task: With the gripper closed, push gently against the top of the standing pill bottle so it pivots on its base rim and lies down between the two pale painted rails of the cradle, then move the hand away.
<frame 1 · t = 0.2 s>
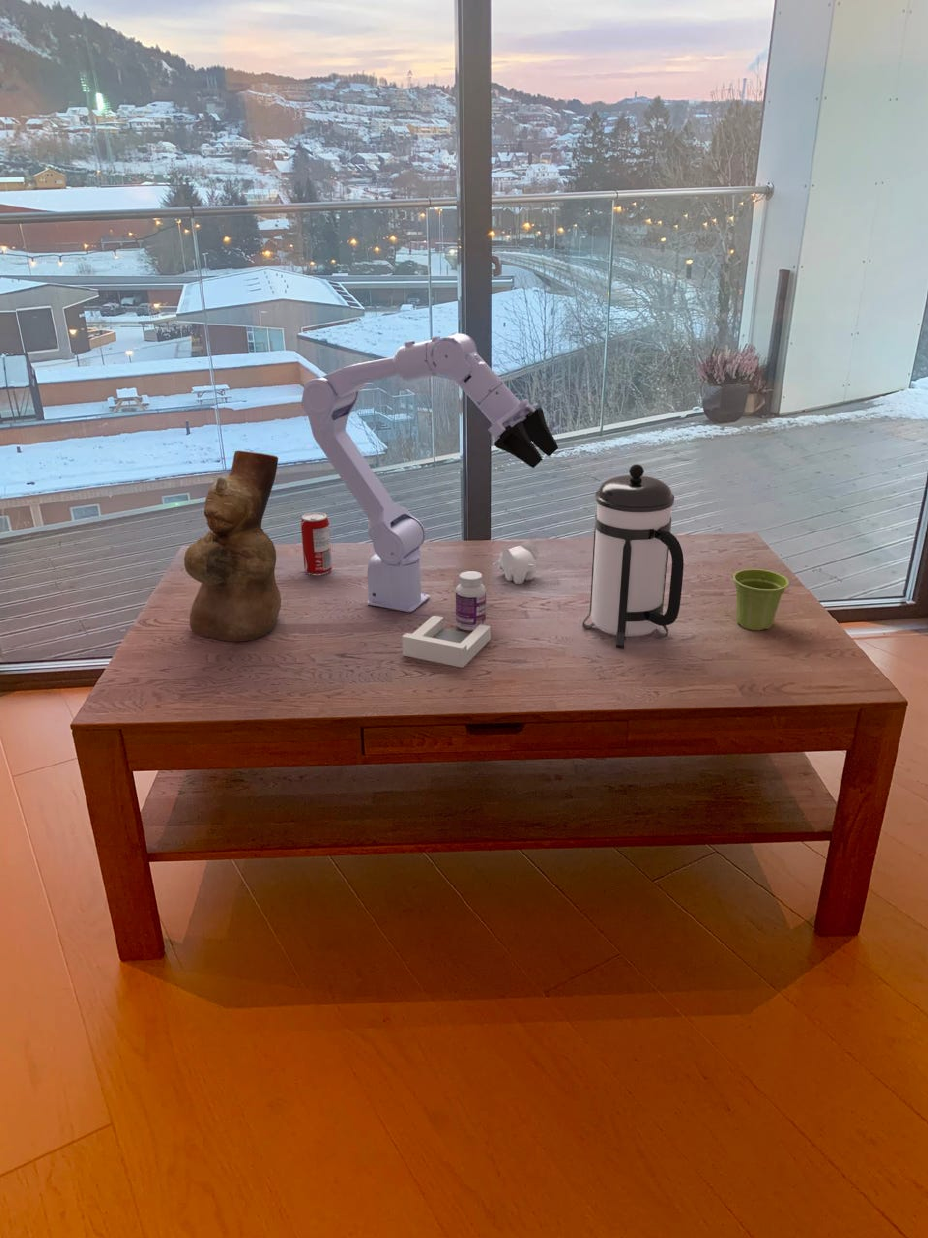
hand: (546, 457, 155), 31 cm above the table, tool tilted 45°, fingers open, 7 cm apart
cradle: (449, 645, 161), on the table
elephant figurine: (515, 578, 189), on the table
ceramic vessel: (248, 620, 172), on the table
coffee press: (630, 635, 165), on the table
pill bottle: (471, 626, 169), on the table
plant pot: (754, 624, 169), on the table
soda can: (318, 572, 193), on the table
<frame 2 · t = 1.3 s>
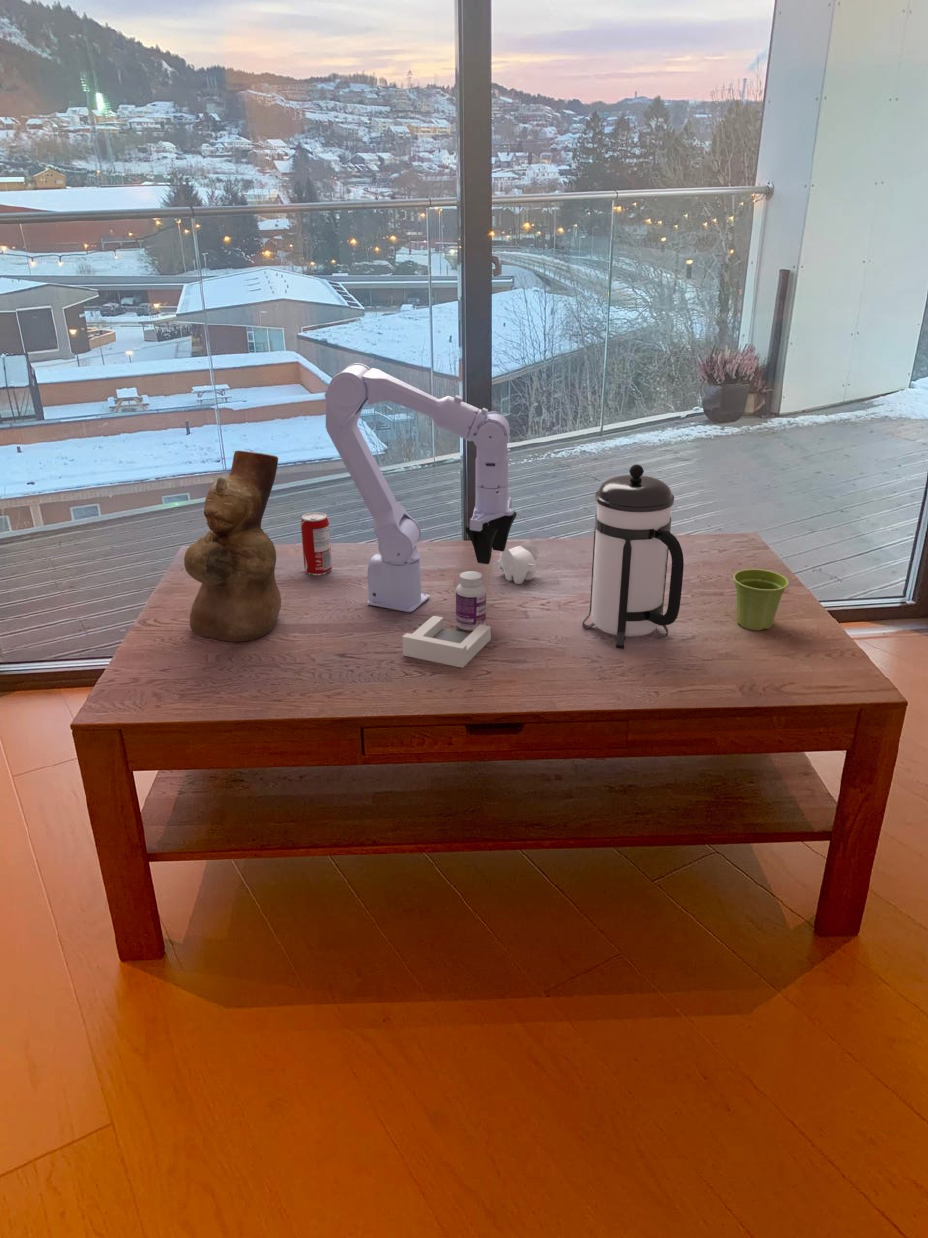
hand: (491, 556, 172), 10 cm above the table, tool pointing down, fingers open, 6 cm apart
nothing on the table moved.
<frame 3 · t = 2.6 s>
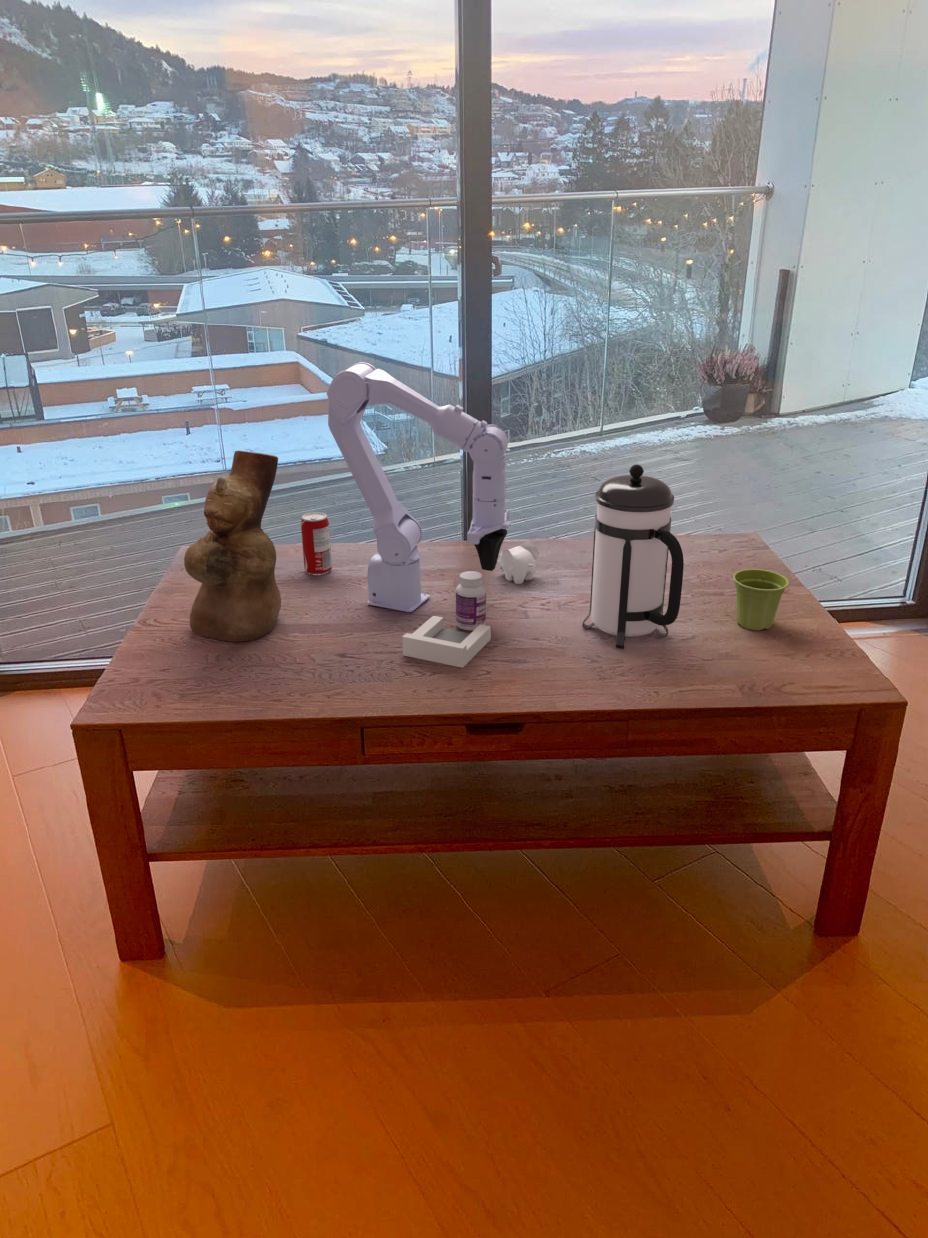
hand: (488, 569, 172), 8 cm above the table, tool pointing down, fingers closed
nothing on the table moved.
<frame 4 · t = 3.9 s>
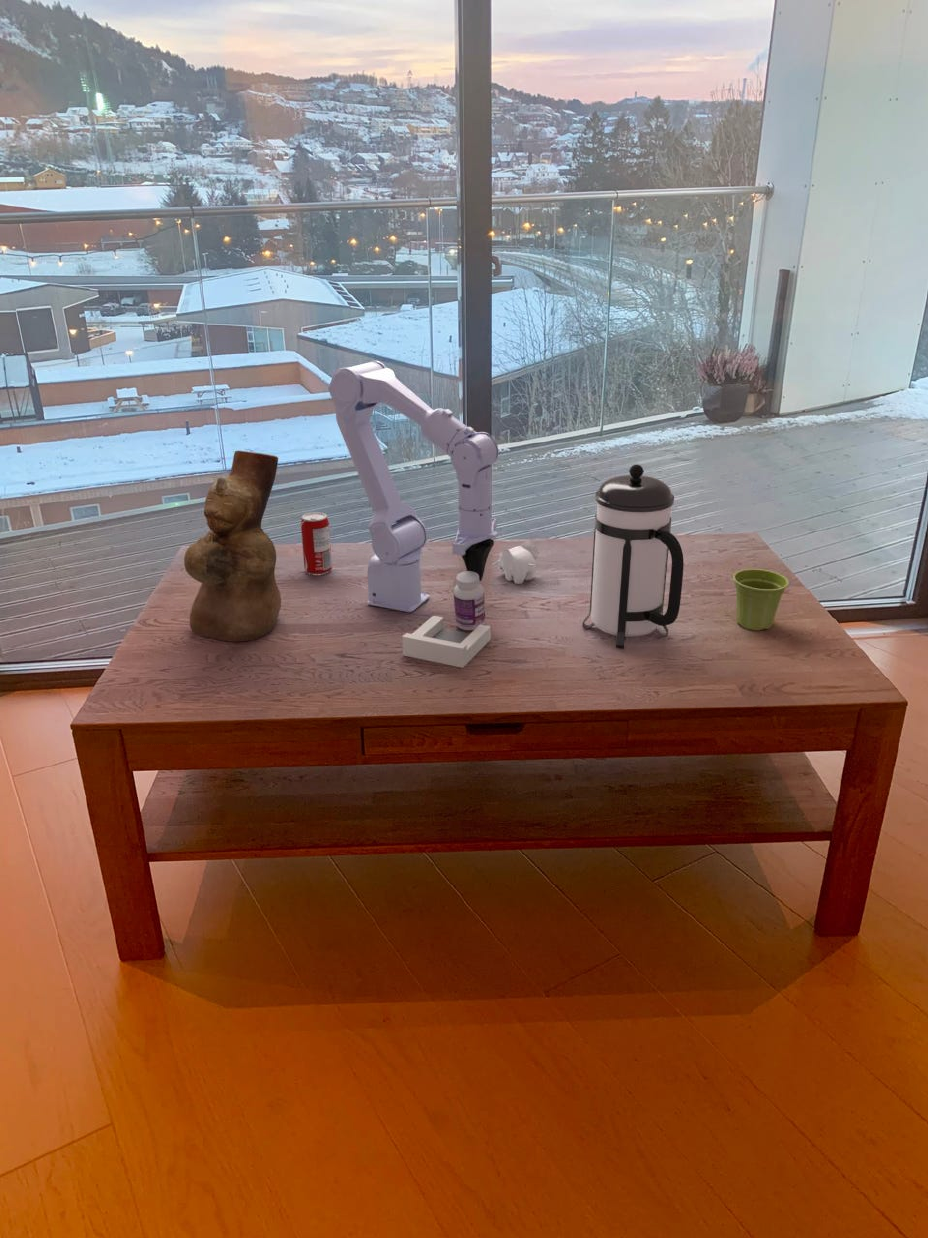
hand: (475, 580, 167), 8 cm above the table, tool pointing down, fingers closed
pill bottle: (471, 624, 169), on the table, touching gripper
everything else where it was.
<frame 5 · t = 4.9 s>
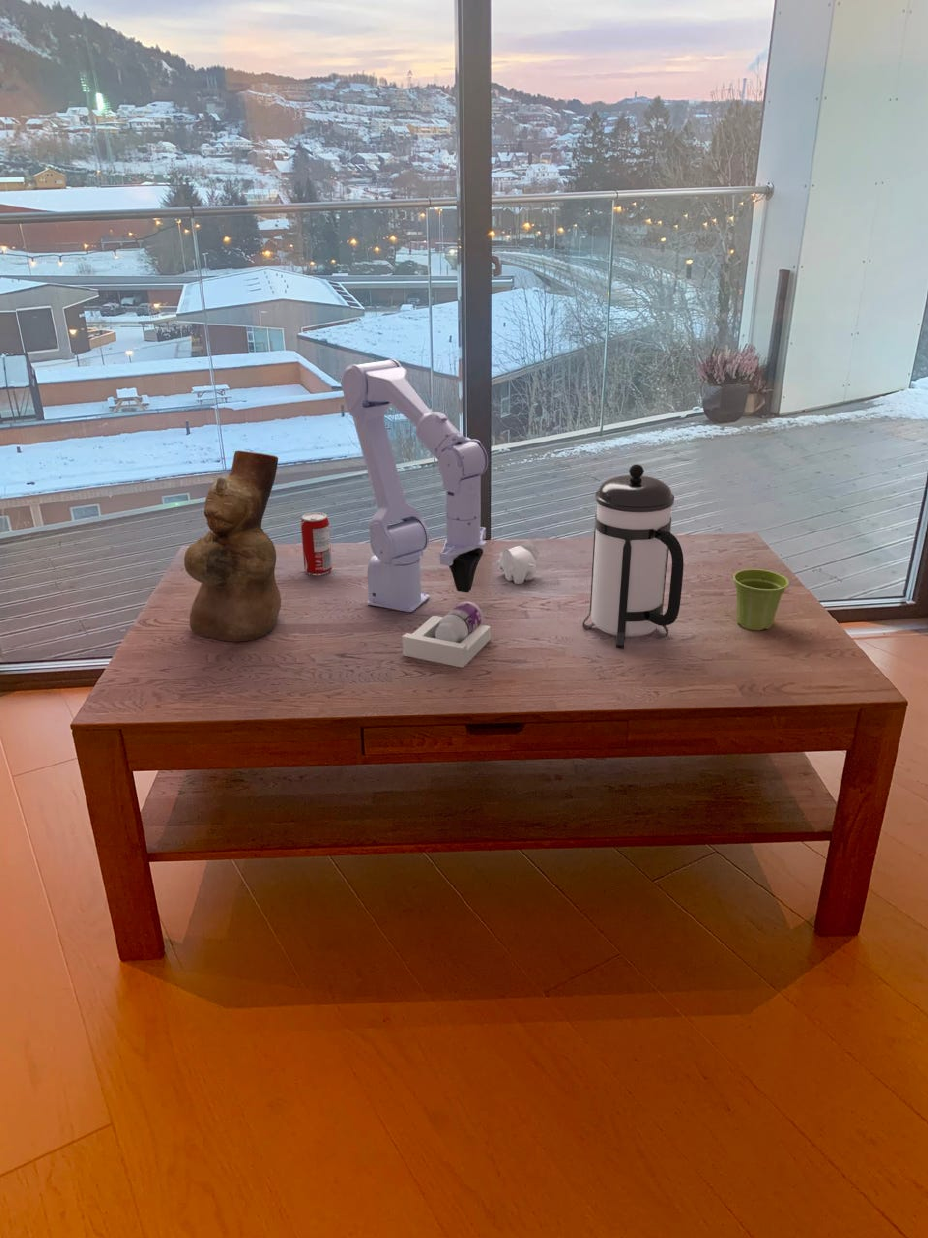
hand: (463, 590, 163), 8 cm above the table, tool pointing down, fingers closed
pill bottle: (470, 614, 165), point 3 cm above the table, touching cradle
everything else where it was.
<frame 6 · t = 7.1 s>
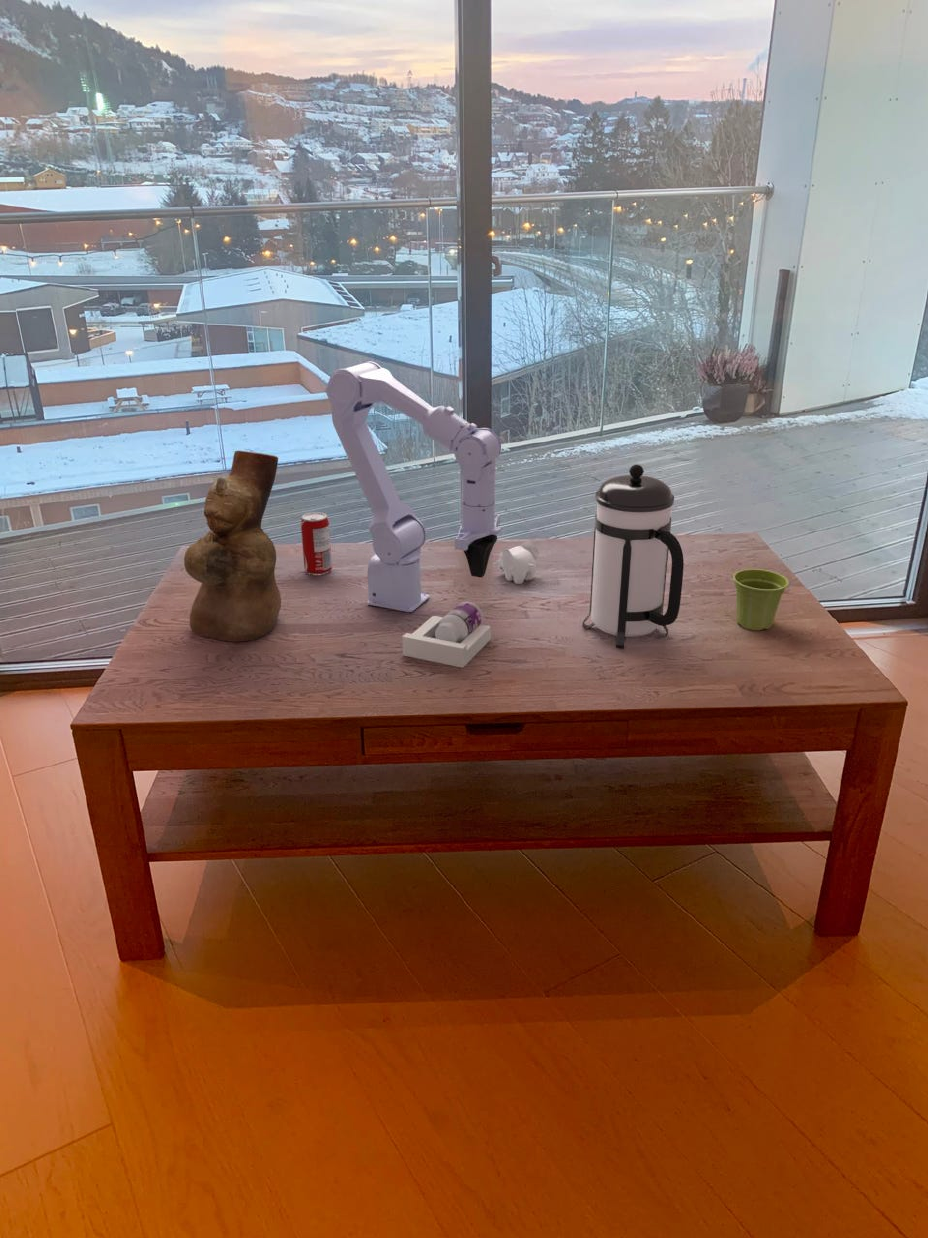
hand: (477, 575, 168), 8 cm above the table, tool pointing down, fingers closed
nothing on the table moved.
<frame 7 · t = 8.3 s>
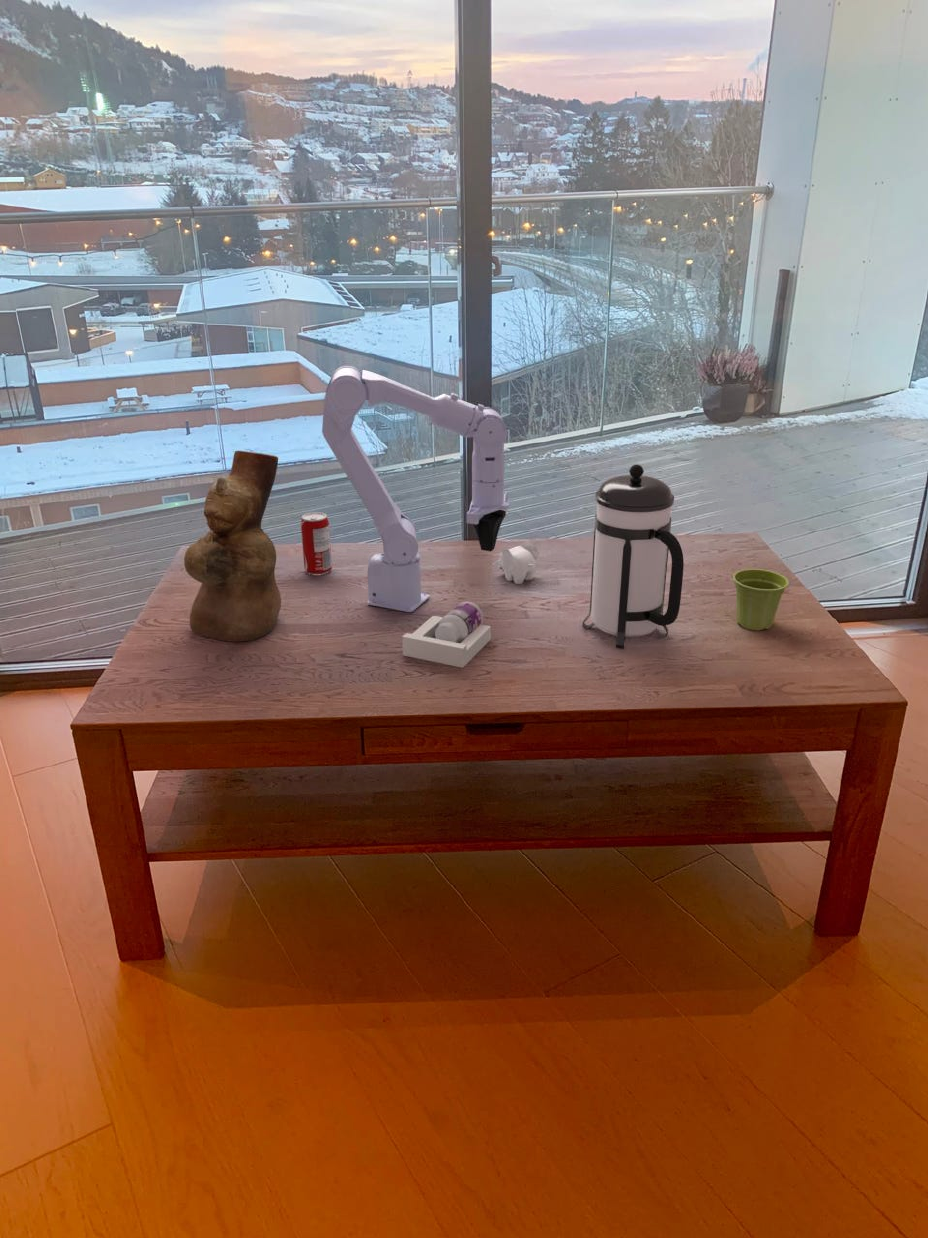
hand: (487, 549, 175), 10 cm above the table, tool pointing down, fingers closed
nothing on the table moved.
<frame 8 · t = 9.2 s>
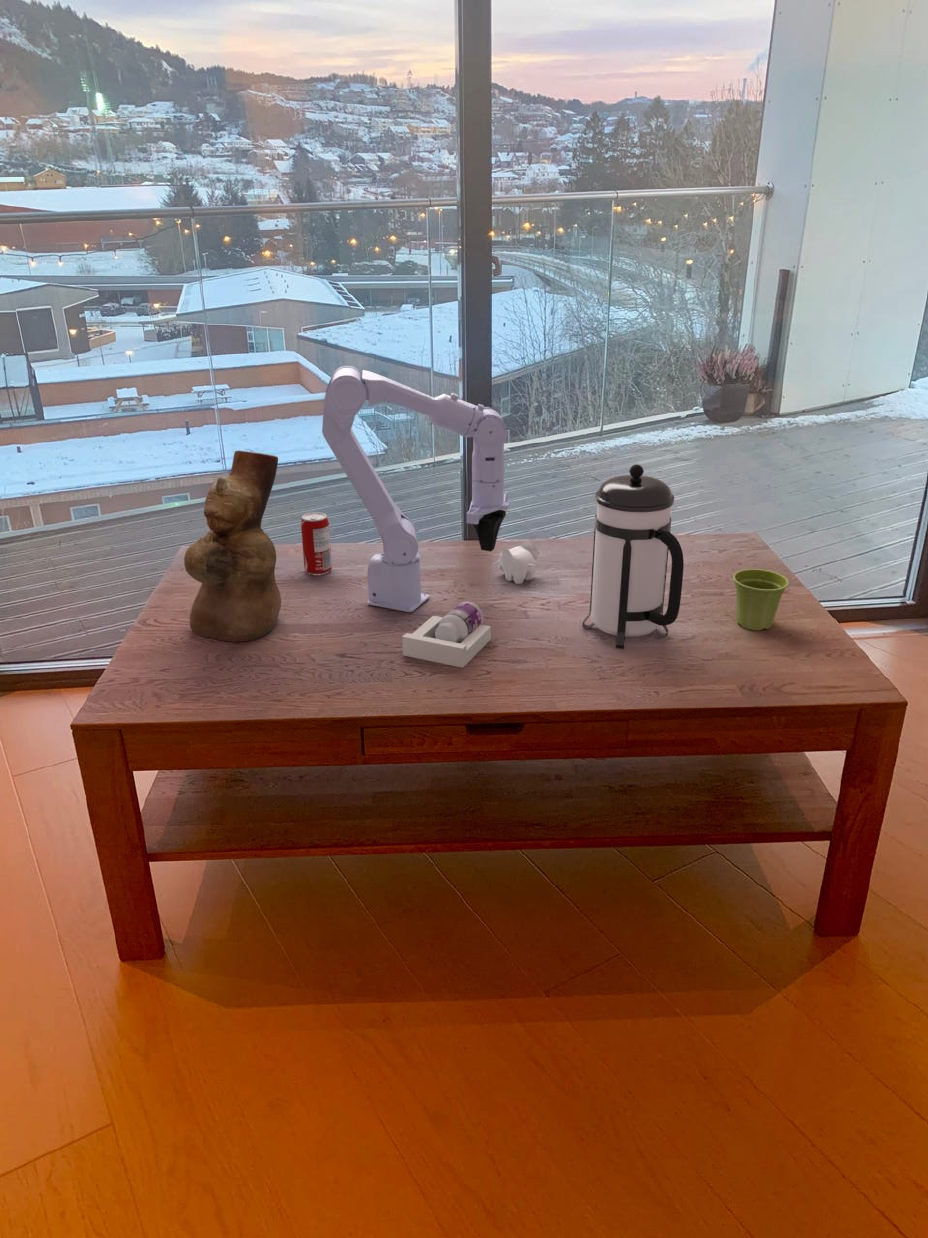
hand: (487, 549, 175), 10 cm above the table, tool pointing down, fingers closed
nothing on the table moved.
at the end: pill bottle tilted 91°; pill bottle inside the target area (5.7 cm from its centre), point 3.3 cm above the table; pill bottle moved 4.2 cm from its start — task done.
